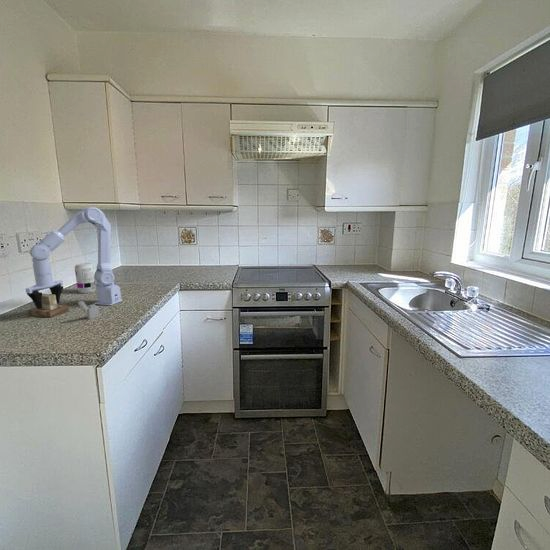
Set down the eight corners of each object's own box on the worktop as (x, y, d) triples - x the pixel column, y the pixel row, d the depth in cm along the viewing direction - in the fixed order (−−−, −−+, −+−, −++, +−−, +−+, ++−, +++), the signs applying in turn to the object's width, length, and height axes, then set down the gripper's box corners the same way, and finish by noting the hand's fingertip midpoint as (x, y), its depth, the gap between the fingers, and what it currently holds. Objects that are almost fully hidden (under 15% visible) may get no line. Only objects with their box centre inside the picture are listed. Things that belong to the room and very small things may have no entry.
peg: (47, 311, 133) (44, 293, 131) (58, 312, 132) (55, 294, 130) (40, 313, 130) (37, 295, 129) (51, 315, 129) (48, 296, 127)
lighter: (96, 315, 128) (94, 296, 126) (99, 316, 127) (97, 297, 126) (80, 321, 122) (77, 301, 120) (83, 321, 121) (80, 302, 119)
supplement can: (75, 294, 161) (71, 265, 158) (81, 290, 168) (77, 263, 165) (93, 293, 163) (89, 265, 160) (97, 289, 171) (94, 262, 167)
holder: (69, 311, 133) (68, 305, 133) (50, 317, 125) (49, 312, 125) (48, 309, 136) (47, 304, 136) (29, 315, 128) (28, 309, 128)
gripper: (52, 270, 135) (56, 300, 138) (17, 277, 121) (23, 310, 124) (64, 271, 133) (69, 301, 136) (31, 278, 120) (37, 311, 123)
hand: (48, 305), depth 130 cm, fingers open, 7 cm apart
